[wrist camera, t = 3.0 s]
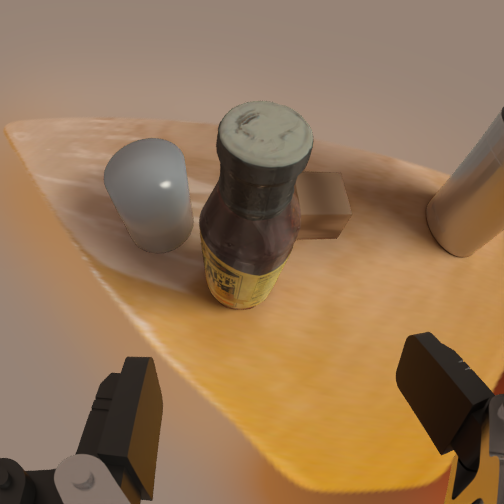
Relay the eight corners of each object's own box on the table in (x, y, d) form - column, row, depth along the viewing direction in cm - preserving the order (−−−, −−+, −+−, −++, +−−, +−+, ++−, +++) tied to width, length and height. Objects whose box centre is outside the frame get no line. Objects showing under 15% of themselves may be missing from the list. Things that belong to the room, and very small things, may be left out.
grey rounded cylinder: (194, 194, 34) (187, 135, 26) (193, 251, 31) (182, 200, 23) (133, 197, 34) (112, 142, 26) (126, 254, 31) (96, 205, 23)
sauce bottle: (199, 263, 31) (171, 92, 13) (258, 244, 32) (293, 73, 14) (220, 325, 29) (209, 199, 11) (283, 304, 30) (362, 163, 12)
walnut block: (327, 200, 36) (340, 172, 31) (336, 238, 33) (352, 214, 29) (285, 199, 35) (293, 171, 31) (291, 240, 33) (301, 214, 28)
